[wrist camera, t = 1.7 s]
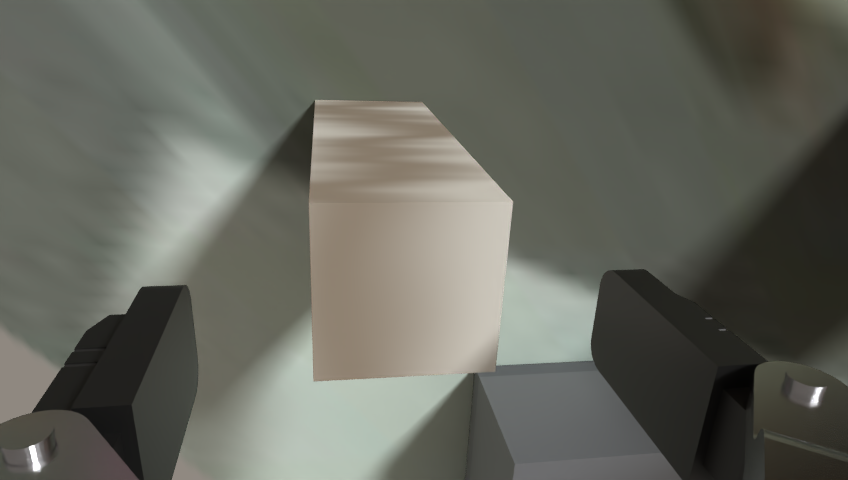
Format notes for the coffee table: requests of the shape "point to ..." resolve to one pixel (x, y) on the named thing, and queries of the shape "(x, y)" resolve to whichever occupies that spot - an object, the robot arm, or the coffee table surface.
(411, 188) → the wooden peg
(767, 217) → the coffee table surface
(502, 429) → the well block
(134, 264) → the coffee table surface
